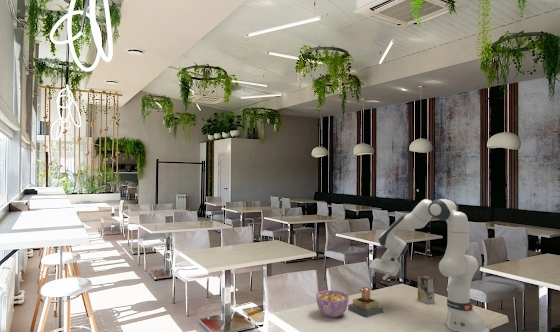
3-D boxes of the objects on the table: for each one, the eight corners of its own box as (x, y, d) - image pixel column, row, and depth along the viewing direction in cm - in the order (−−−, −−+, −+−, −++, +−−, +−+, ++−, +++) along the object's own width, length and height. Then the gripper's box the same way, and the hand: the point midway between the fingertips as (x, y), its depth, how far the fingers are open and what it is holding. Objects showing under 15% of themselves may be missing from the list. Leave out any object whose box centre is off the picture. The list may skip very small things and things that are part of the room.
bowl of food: (322, 322, 218) (322, 302, 219) (310, 310, 238) (310, 291, 238) (354, 319, 224) (354, 299, 224) (340, 307, 243) (340, 289, 243)
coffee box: (435, 302, 253) (435, 278, 253) (427, 304, 250) (427, 279, 251) (424, 298, 261) (424, 274, 262) (417, 299, 259) (417, 276, 259)
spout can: (371, 306, 237) (371, 288, 237) (363, 308, 233) (363, 290, 233) (365, 303, 241) (365, 286, 242) (357, 306, 237) (357, 288, 238)
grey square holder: (383, 312, 236) (383, 301, 236) (365, 317, 227) (365, 306, 227) (365, 304, 248) (365, 294, 248) (348, 309, 240) (348, 298, 240)
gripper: (373, 254, 257) (363, 271, 251) (398, 260, 240) (387, 278, 234) (378, 260, 259) (368, 276, 253) (403, 266, 242) (392, 284, 236)
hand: (377, 277), depth 244 cm, fingers open, 8 cm apart
